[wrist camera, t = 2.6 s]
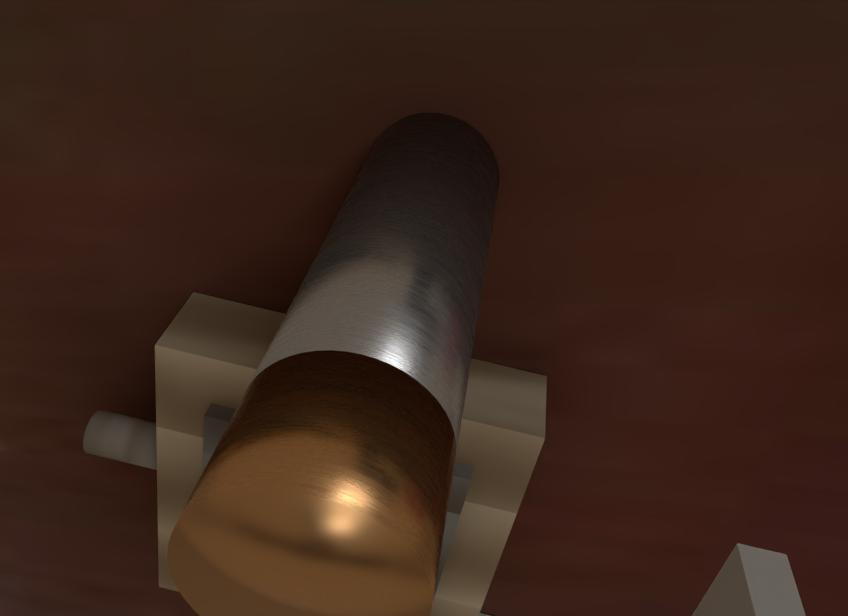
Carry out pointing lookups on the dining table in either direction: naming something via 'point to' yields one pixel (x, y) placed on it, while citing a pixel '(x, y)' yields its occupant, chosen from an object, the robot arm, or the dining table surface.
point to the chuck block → (224, 388)
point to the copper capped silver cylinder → (354, 401)
